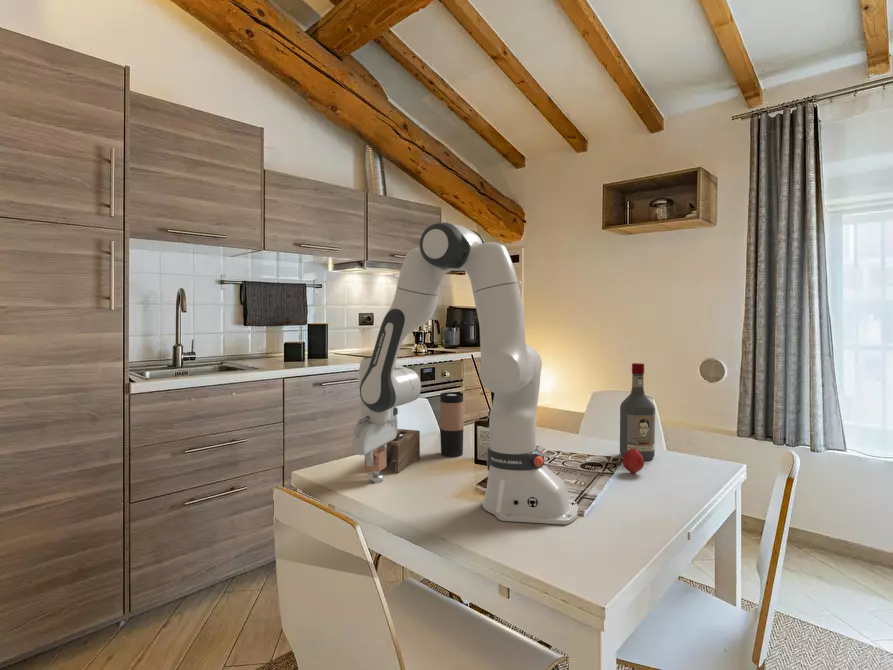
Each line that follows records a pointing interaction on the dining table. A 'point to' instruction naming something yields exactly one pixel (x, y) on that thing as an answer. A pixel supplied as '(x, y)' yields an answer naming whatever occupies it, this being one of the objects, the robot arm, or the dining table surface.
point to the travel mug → (451, 424)
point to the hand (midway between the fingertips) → (375, 462)
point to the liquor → (637, 418)
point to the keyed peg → (377, 465)
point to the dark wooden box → (403, 449)
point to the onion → (633, 460)
